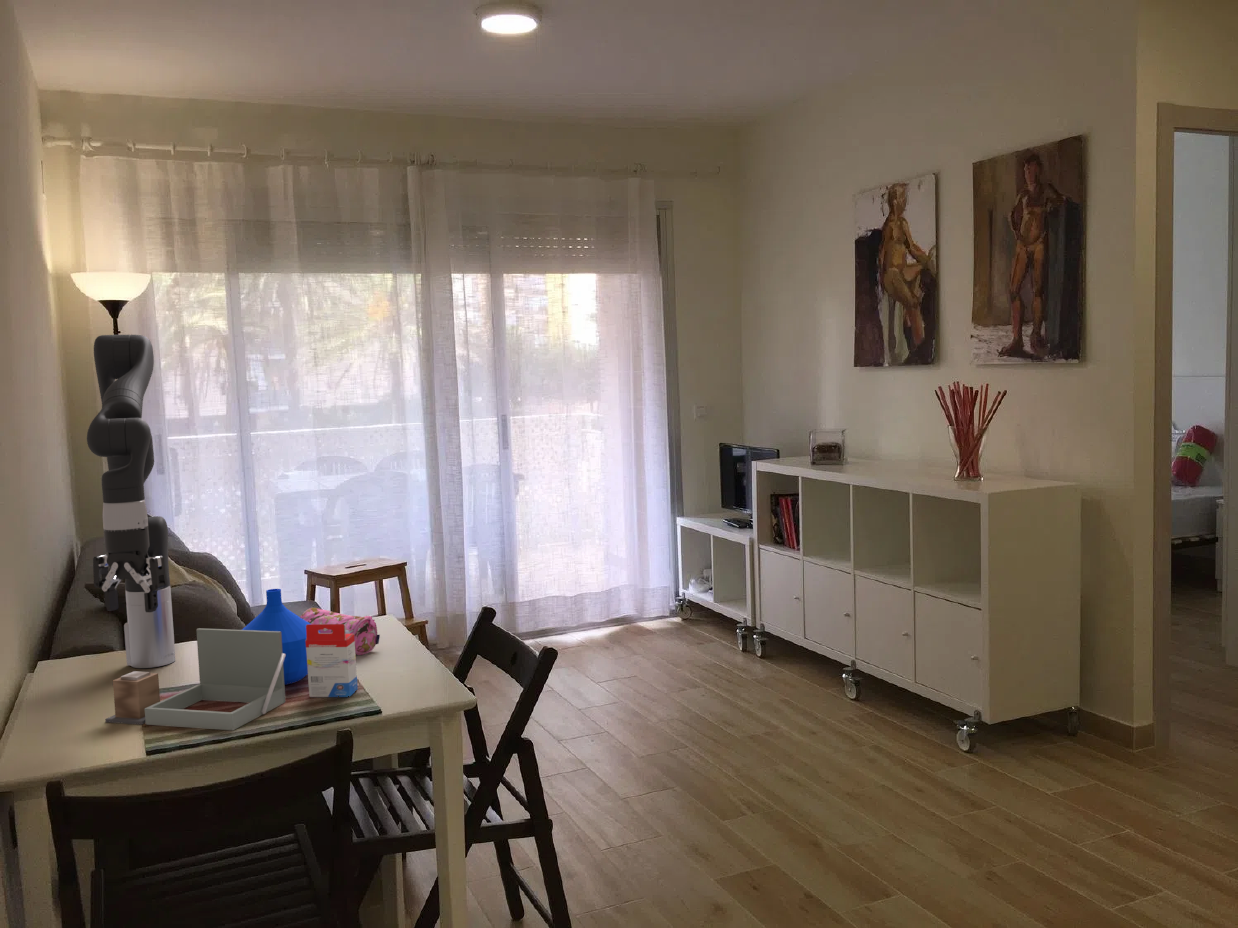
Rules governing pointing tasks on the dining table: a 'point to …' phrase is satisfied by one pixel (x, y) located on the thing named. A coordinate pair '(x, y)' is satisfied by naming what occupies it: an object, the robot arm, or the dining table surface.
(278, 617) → the blue funnel
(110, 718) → the mat
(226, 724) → the case
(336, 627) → the ink box
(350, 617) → the pencil case
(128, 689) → the module
